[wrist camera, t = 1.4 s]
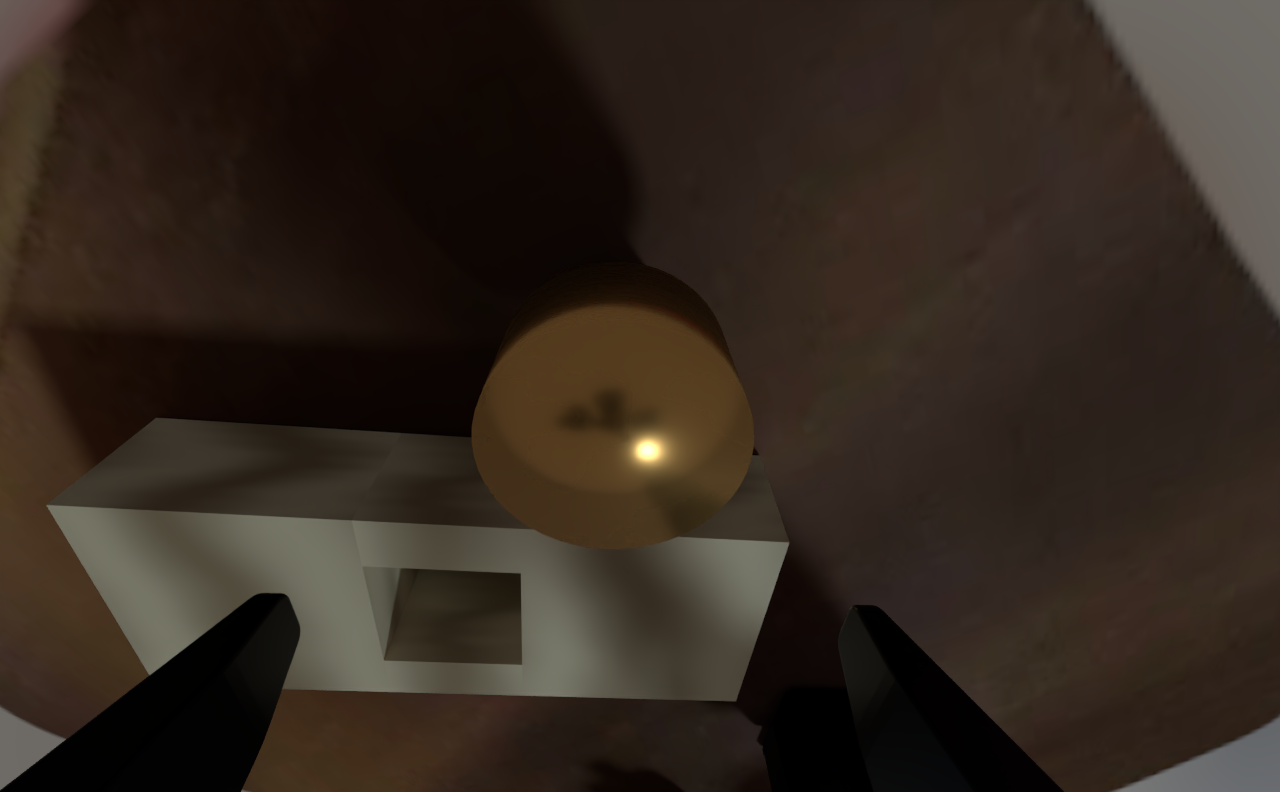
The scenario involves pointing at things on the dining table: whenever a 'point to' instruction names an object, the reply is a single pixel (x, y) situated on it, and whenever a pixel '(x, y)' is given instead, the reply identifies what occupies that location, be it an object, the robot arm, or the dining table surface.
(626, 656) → the bar
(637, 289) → the brown rounded piece
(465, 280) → the dining table surface
